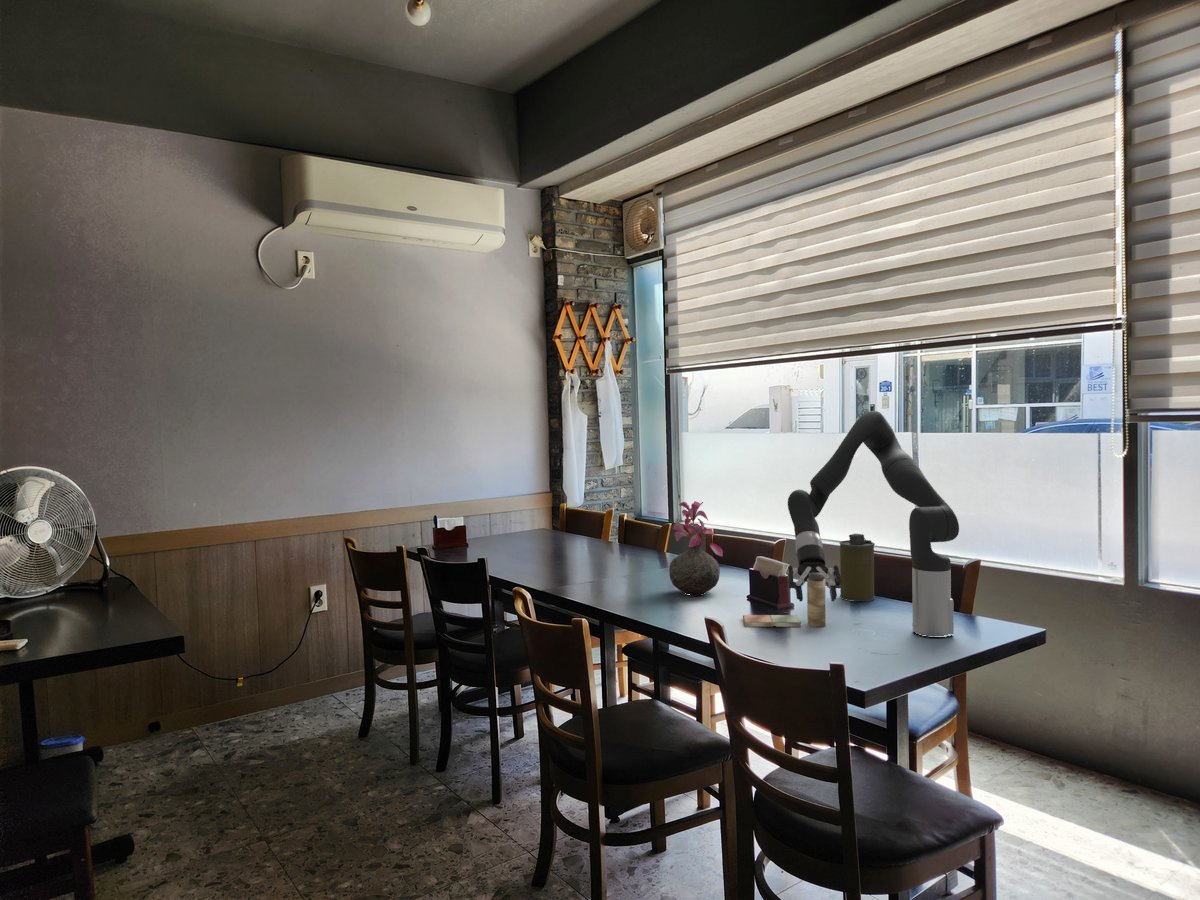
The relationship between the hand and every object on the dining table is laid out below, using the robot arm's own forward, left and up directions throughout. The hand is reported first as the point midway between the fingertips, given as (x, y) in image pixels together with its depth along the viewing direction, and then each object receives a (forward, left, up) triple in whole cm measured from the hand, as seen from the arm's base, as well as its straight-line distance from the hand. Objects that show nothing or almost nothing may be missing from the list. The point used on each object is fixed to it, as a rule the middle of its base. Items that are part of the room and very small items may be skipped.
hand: (817, 600), depth 215 cm
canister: (-18, -33, -7) cm, 39 cm away
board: (+12, -3, -7) cm, 14 cm away
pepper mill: (0, -1, -7) cm, 7 cm away
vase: (+32, -38, -7) cm, 50 cm away
